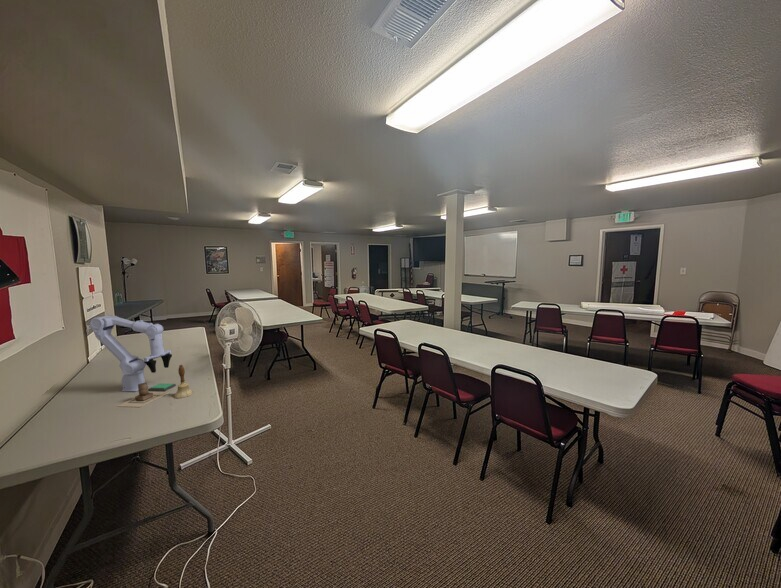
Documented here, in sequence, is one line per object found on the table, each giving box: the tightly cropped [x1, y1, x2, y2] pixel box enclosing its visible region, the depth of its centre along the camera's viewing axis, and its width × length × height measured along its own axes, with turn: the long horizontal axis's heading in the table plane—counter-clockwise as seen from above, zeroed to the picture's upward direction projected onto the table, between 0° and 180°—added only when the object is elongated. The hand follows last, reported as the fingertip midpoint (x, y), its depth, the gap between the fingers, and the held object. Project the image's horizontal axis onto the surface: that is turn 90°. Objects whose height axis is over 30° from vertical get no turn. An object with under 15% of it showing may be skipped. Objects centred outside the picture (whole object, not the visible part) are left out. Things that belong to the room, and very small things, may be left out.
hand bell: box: [173, 364, 194, 399], centre depth 152 cm, size 8×8×16 cm
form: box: [117, 391, 170, 408], centre depth 149 cm, size 13×16×1 cm
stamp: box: [134, 382, 153, 401], centre depth 149 cm, size 5×5×8 cm
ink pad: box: [148, 382, 177, 392], centre depth 162 cm, size 10×7×2 cm
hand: (160, 369), depth 164 cm, fingers open, 7 cm apart
